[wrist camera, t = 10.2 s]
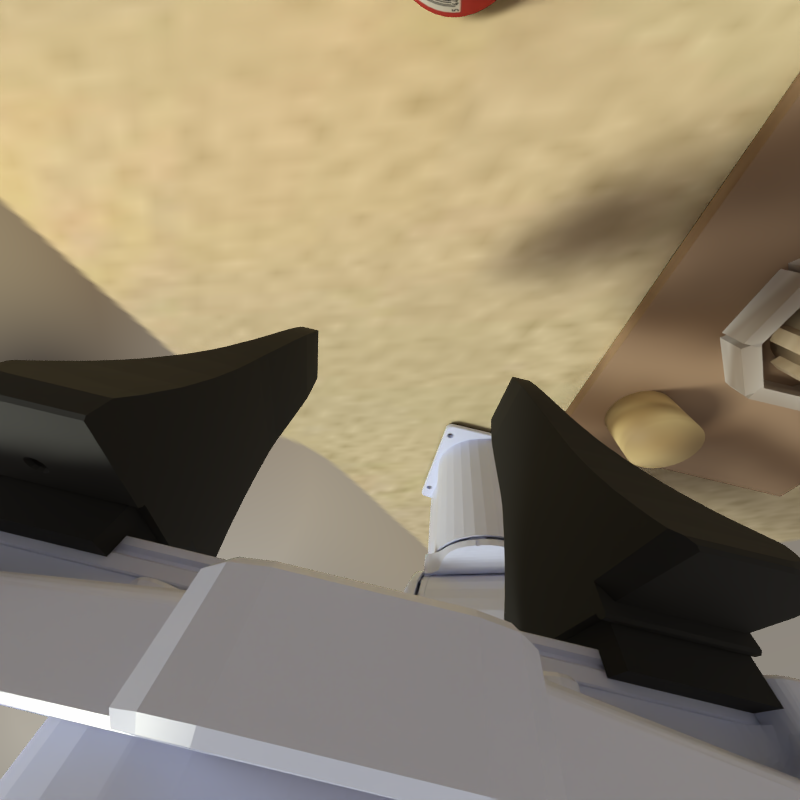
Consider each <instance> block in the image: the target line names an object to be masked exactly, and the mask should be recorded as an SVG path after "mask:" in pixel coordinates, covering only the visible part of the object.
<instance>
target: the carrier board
mask: <svg viewBox="0 0 800 800" xmlns="http://www.w3.org/2000/svg"><path fill="white" fill-rule="evenodd" d="M799 308H800V73H799V74H798V76H797V77H796V79H795V80H794V81H793V83H792V84H791V86H790V87H789V89H788V90H787V92H786V93H785V94H784V96H783V97H782V99H781V100H780V102H779V103H778V105H777V106H776V108H775V109H774V110H773V112H772V113H771V115H770V116H769V118H768V119H767V121H766V122H765V123H764V125H763V126H762V128H761V129H760V131H759V132H758V134H757V135H756V136H755V138H754V139H753V141H752V142H751V144H750V145H749V147H748V148H747V150H746V151H745V152H744V154H743V155H742V157H741V158H740V160H739V161H738V163H737V164H736V165H735V167H734V168H733V170H732V171H731V173H730V174H729V176H728V177H727V179H726V180H725V181H724V183H723V184H722V186H721V187H720V189H719V190H718V192H717V193H716V194H715V196H714V197H713V199H712V200H711V202H710V203H709V205H708V206H707V207H706V209H705V210H704V212H703V213H702V215H701V216H700V218H699V219H698V221H697V222H696V223H695V225H694V226H693V228H692V229H691V231H690V232H689V234H688V235H687V236H686V238H685V239H684V241H683V242H682V244H681V245H680V247H679V248H678V250H677V251H676V252H675V254H674V255H673V257H672V258H671V260H670V261H669V263H668V264H667V265H666V267H665V268H664V270H663V271H662V273H661V274H660V276H659V277H658V278H657V280H656V281H655V283H654V284H653V286H652V287H651V289H650V290H649V292H648V293H647V294H646V296H645V297H644V299H643V300H642V302H641V303H640V305H639V306H638V307H637V309H636V310H635V312H634V313H633V315H632V316H631V318H630V319H629V320H628V322H627V323H626V325H625V326H624V328H623V329H622V331H621V332H620V334H619V335H618V336H617V338H616V339H615V341H614V342H613V344H612V345H611V347H610V348H609V349H608V351H607V352H606V354H605V355H604V357H603V358H602V360H601V361H600V363H599V364H598V365H597V367H596V368H595V370H594V371H593V373H592V374H591V376H590V377H589V378H588V380H587V381H586V383H585V384H584V386H583V387H582V389H581V390H580V391H579V393H578V394H577V396H576V397H575V399H574V400H573V402H572V403H571V405H570V406H569V407H568V409H567V410H566V413H567V414H568V415H569V416H570V417H571V418H573V419H574V420H575V421H576V422H577V423H578V424H580V425H581V426H582V427H583V428H584V429H586V430H587V431H588V432H589V433H590V434H592V435H593V436H594V437H595V438H597V439H598V440H599V441H601V442H602V443H603V444H605V445H606V446H607V447H609V448H610V449H612V450H613V451H614V452H616V453H617V454H619V455H620V456H621V457H623V458H624V459H626V460H629V461H630V462H631V463H632V464H634V465H637V466H640V467H644V468H664V469H668V470H672V471H676V472H681V473H685V474H689V475H693V476H697V477H701V478H706V479H710V480H714V481H718V482H722V483H727V484H731V485H735V486H739V487H743V488H747V489H752V490H756V491H760V492H764V493H768V494H773V495H777V496H782V495H784V494H785V493H787V492H789V491H790V490H792V489H793V488H795V487H797V486H798V485H800V381H799V380H797V379H795V378H793V377H791V376H790V375H788V374H786V373H784V372H782V371H780V370H779V369H777V368H776V367H775V366H774V365H773V364H772V363H771V362H770V361H772V360H774V359H775V358H777V357H775V356H774V354H773V353H772V351H771V349H770V341H769V340H770V338H771V335H772V334H773V333H774V332H775V331H776V330H777V329H778V328H779V327H780V326H781V325H782V324H783V323H784V322H785V321H786V320H788V319H789V318H790V317H791V316H792V315H793V314H794V313H795V312H796V311H797V310H798V309H799Z"/></svg>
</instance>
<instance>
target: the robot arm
mask: <svg viewBox="0 0 800 800" xmlns="http://www.w3.org/2000/svg"><path fill="white" fill-rule="evenodd" d="M317 370H318V330H314V329H309V328H305V327H297V328H292V329H288V330H285V331H281V332H278V333H275V334H271V335H268V336H264V337H261V338H258V339H254V340H250V341H246V342H242V343H239V344H235V345H231V346H227V347H222V348H218V349H213V350H207V351H201V352H195V353H189V354H182V355H173V356H163V357H154V358H143V359H128V360H103V361H27V360H9V361H4V362H0V705H2V706H7V707H11V708H15V709H19V710H23V711H27V712H31V713H35V714H39V715H43V716H47V717H48V718H47V719H46V721H45V722H44V723H43V724H42V726H41V727H40V728H39V730H38V731H37V732H36V734H35V735H34V736H33V738H32V739H31V740H30V741H29V743H28V744H27V745H26V747H25V748H24V749H23V751H22V752H21V753H20V755H19V756H18V757H17V758H16V760H15V761H14V762H13V764H12V765H11V766H10V768H9V769H8V770H7V771H6V773H5V774H4V776H3V777H2V778H1V779H0V800H800V680H799V679H795V678H790V677H785V676H778V675H762V673H761V672H760V670H759V669H758V667H757V666H756V664H755V663H754V661H753V660H752V658H751V656H753V657H757V656H761V653H762V650H761V649H760V647H759V646H758V644H757V643H756V641H755V640H754V638H753V637H752V635H751V634H750V633H751V632H754V631H756V630H760V629H763V628H765V627H768V626H771V625H774V624H777V623H780V622H783V621H786V620H789V619H791V618H795V617H797V616H799V615H800V558H799V557H798V556H797V555H796V554H795V553H794V552H793V551H791V550H790V549H789V548H787V547H786V546H785V545H783V544H781V543H779V542H777V541H775V540H773V539H771V538H768V537H766V536H764V535H762V534H760V533H758V532H756V531H754V530H752V529H750V528H748V527H746V526H743V525H741V524H739V523H737V522H735V521H733V520H731V519H729V518H727V517H725V516H723V515H721V514H719V513H717V512H715V511H713V510H711V509H709V508H707V507H705V506H703V505H702V504H700V503H698V502H696V501H694V500H692V499H690V498H689V497H687V496H685V495H683V494H681V493H679V492H678V491H676V490H674V489H672V488H671V487H669V486H667V485H665V484H664V483H662V482H660V481H659V480H657V479H656V478H654V477H652V476H651V475H649V474H647V473H646V472H644V471H643V470H641V469H639V468H638V467H636V466H635V465H633V464H632V463H630V462H629V461H627V460H626V459H624V458H623V457H621V456H620V455H619V454H617V453H616V452H614V451H613V450H612V449H610V448H609V447H607V446H606V445H605V444H603V443H602V442H601V441H599V440H598V439H597V438H595V437H594V436H593V435H592V434H590V433H589V432H588V431H587V430H586V429H584V428H583V427H582V426H581V425H580V424H578V423H577V422H576V421H575V420H574V419H573V418H571V417H570V416H569V415H568V414H567V413H566V412H565V411H564V410H563V409H561V408H560V407H559V406H558V405H557V404H556V403H555V402H554V401H553V400H552V399H550V398H549V397H548V396H547V395H546V394H545V393H544V392H543V391H542V390H540V389H539V388H538V387H537V386H536V385H534V384H533V383H532V382H530V381H528V380H524V379H519V378H515V377H512V379H511V381H510V383H509V385H508V387H507V389H506V391H505V393H504V395H503V397H502V399H501V401H500V403H499V405H498V407H497V409H496V411H495V413H494V415H493V417H492V419H491V433H489V432H485V431H480V430H476V429H472V428H468V427H464V426H460V425H455V424H449V425H447V427H446V429H445V432H444V434H443V437H442V439H441V442H440V445H439V447H438V450H437V452H436V455H435V458H434V460H433V463H432V465H431V468H430V471H429V473H428V476H427V478H426V481H425V484H424V486H423V489H422V494H423V495H424V496H427V497H431V513H430V528H429V544H428V554H426V555H425V566H424V571H418V572H416V573H415V574H414V575H413V576H412V577H411V579H410V581H409V583H408V585H407V586H406V588H405V590H404V592H401V591H397V590H392V589H388V588H385V587H381V586H376V585H372V584H368V583H364V582H360V581H356V580H351V579H347V578H343V577H339V576H335V575H331V574H327V573H323V572H318V571H314V570H310V569H306V568H302V567H298V566H293V565H290V564H285V563H281V562H276V561H269V560H260V559H252V558H244V557H236V558H233V559H229V560H225V559H221V558H217V557H216V556H217V554H218V551H219V549H220V547H221V545H222V543H223V540H224V538H225V536H226V534H227V532H228V529H229V527H230V525H231V523H232V521H233V519H234V517H235V515H236V513H237V511H238V509H239V507H240V505H241V503H242V501H243V499H244V497H245V495H246V493H247V491H248V489H249V488H250V486H251V484H252V482H253V480H254V478H255V476H256V474H257V472H258V471H259V469H260V467H261V465H262V464H263V462H264V460H265V458H266V456H267V455H268V453H269V451H270V450H271V448H272V446H273V445H274V444H275V442H276V440H277V439H278V438H279V436H280V435H281V434H282V432H283V431H284V429H285V428H286V427H287V425H288V424H289V423H290V421H291V420H292V419H293V417H294V416H295V414H296V413H297V412H298V410H299V409H300V407H301V406H302V405H303V403H304V402H305V400H306V399H307V397H308V395H309V394H310V392H311V390H312V388H313V386H314V384H315V382H316V380H317ZM449 433H451V434H452V435H449Z"/></svg>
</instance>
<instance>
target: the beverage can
mask: <svg viewBox="0 0 800 800" xmlns="http://www.w3.org/2000/svg"><path fill="white" fill-rule="evenodd" d="M414 1H415V2H417V3H418V4H419V5H420V6H421V7H423V8H425V9H426V10H428V11H430V12H432V13H434V14H438V15H441V16H445V17H462V16H466V15H470V14H474V13H476V12H478V11H481V10H482V9H484V8H486V7H488V6H489V5H491V4H492V3H494V2H495V1H496V0H414Z"/></svg>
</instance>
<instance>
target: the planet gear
mask: <svg viewBox="0 0 800 800" xmlns="http://www.w3.org/2000/svg"><path fill="white" fill-rule="evenodd" d="M769 341H770V349H771V351H772V353H773V354H774V356H775V357H777V358H775V359H774V360H772V361H770V362H771V363H772V364H773V365H774V366H775V367H776V368H777V369H779V370H780V371H782V372H784V373H786V374H788V375H790V376H791V377H793V378H795V379H797V380H799V381H800V308H799V309H798V310H797V311H796V312H795V313H794V314H793V315H792V316H791V317H790V318H789V319H788V320H786V321H785V322H784V323H783V324H782V325H781V326H780V327H779V328H778V329H777V330H776V331H775V332H774V333H773V334H772V335H771V338H770V340H769Z"/></svg>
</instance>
